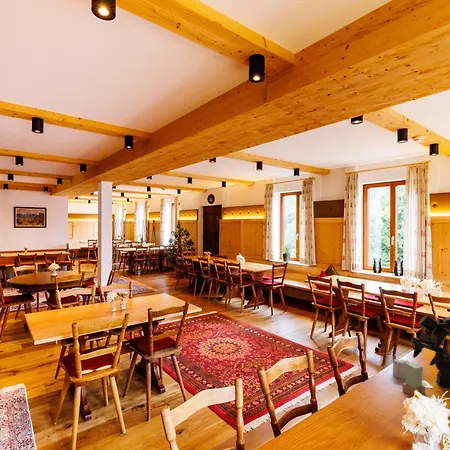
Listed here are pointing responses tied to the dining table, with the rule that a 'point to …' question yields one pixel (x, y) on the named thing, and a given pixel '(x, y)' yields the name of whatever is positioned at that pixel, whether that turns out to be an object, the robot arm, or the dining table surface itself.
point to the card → (426, 384)
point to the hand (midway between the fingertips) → (421, 361)
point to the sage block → (414, 375)
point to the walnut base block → (413, 389)
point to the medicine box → (400, 368)
